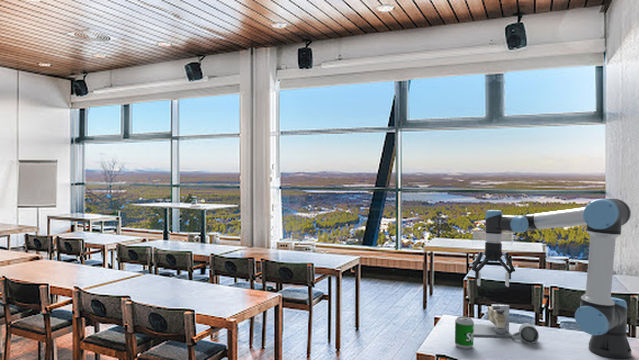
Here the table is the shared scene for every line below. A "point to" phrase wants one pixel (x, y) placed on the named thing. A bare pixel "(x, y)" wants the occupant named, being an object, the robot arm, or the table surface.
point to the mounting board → (490, 331)
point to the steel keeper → (506, 313)
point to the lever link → (497, 317)
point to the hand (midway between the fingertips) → (492, 285)
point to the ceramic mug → (526, 333)
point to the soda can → (464, 332)
